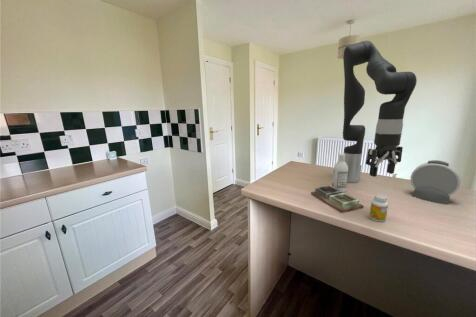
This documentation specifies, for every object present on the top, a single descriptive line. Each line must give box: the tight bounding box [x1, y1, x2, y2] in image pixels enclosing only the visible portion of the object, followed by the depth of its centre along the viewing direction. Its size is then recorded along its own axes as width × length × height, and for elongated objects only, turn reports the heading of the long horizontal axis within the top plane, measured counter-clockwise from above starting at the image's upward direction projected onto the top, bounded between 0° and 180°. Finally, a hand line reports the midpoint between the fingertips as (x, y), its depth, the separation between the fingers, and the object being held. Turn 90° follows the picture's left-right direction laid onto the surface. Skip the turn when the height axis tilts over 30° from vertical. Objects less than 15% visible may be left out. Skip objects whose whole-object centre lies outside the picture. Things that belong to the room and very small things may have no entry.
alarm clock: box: [410, 159, 462, 206], centre depth 90 cm, size 16×10×18 cm, turn 41°
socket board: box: [310, 185, 364, 214], centre depth 93 cm, size 12×20×4 cm, turn 17°
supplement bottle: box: [369, 193, 389, 223], centre depth 76 cm, size 5×5×10 cm
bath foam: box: [331, 153, 348, 193], centre depth 102 cm, size 7×7×20 cm
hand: (381, 174), depth 73 cm, fingers open, 8 cm apart
